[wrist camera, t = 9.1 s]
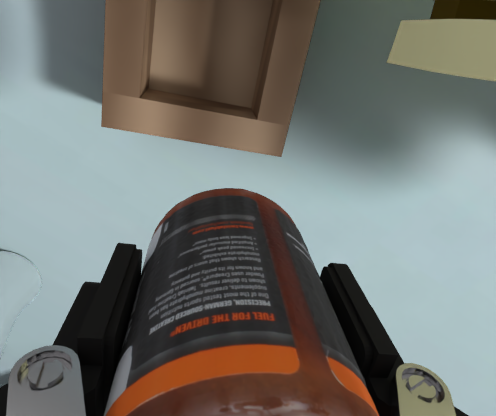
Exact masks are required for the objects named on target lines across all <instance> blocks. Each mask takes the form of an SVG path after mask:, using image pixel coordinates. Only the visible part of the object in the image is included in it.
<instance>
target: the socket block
mask: <svg viewBox="0 0 496 416" xmlns="http://www.w3.org/2000/svg"><path fill="white" fill-rule="evenodd" d="M320 1H321V0H106V3H105V33H104V64H103V94H102V125H101V127H107V128H113V129H119V130H125V131H131V132H137V133H143V134H149V135H155V136H160V137H166V138H172V139H178V140H184V141H190V142H196V143H202V144H208V145H214V146H220V147H225V148H231V149H237V150H243V151H249V152H255V153H261V154H267V155H273V156H279V157H281V156H282V152H283V148H284V144H285V140H286V136H287V132H288V128H289V124H290V120H291V116H292V112H293V108H294V104H295V100H296V96H297V92H298V88H299V84H300V80H301V76H302V72H303V68H304V64H305V60H306V57H307V53H308V49H309V45H310V41H311V37H312V33H313V29H314V25H315V21H316V17H317V13H318V9H319V5H320Z"/></svg>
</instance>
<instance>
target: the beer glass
mask: <svg viewBox="0 0 496 416" xmlns="http://www.w3.org/2000/svg"><path fill="white" fill-rule="evenodd" d="M41 287H42V278H41V275H40V273H39V271H38V269H37V268H36V267H35V266H34V265H33V264H32V263H31V262H30V261H29V260H27V259H26V258H24V257H22V256H20V255H18V254H16V253H12V252H8V251H0V359H1V356H2V353H3V351H4V348H5V346H6V343H7V340H8V338H9V335H10V332H11V330H12V328H13V325H14V323H15V321H16V320H17V318H18V316H19V315H20V313H21V312H22V311H23V310H24V309H25V308H26V307H27V306H28V305H29V304H30V303H31V302H32V301H33V300H34V299H35V298H36V297H37V296H38V294H39V293H40V290H41Z"/></svg>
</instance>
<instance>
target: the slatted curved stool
mask: <svg viewBox="0 0 496 416" xmlns="http://www.w3.org/2000/svg"><path fill="white" fill-rule="evenodd" d="M387 63H391V64H396V65H401V66H406V67H411V68H416V69H421V70H426V71H431V72H436V73H442V74H448V75H455V76H461V77H468V78H475V79H482V80H489V81H496V0H435V3H434V6H433V10H432V14H431V17H430V19H429V20H401V22H400V25H399V28H398V31H397V34H396V37H395V40H394V43H393V46H392V49H391V52H390V54H389V57H388V60H387Z"/></svg>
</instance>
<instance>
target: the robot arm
mask: <svg viewBox="0 0 496 416" xmlns="http://www.w3.org/2000/svg"><path fill="white" fill-rule="evenodd" d="M141 265H142V250H140V249H136V245H134V244H123V243H118V244H117V246H116V248H115V250H114V253H113V255H112V257H111V260H110V262H109V264H108V267H107V269H106V271H105V274H104V276H103V278H102V281H101V283H96V282H85V283H84V284H83V285H82V287H81V289H80V291H79V293H78V295H77V297H76V299H75V301H74V303H73V305H72V307H71V309H70V311H69V313H68V315H67V317H66V319H65V321H64V323H63V325H62V327H61V329H60V331H59V333H58V335H57V337H56V339H55V341H54V343H53V345H52V346H44V347H41V348H38V349H35V350H33V351H31V352H29V353H27V354H25V355H24V356H23V357H22V358H21V359H19V360H18V361H17V362H16V364H15V365H14V366H13V368H12V369H11V372H10V376H9V383H8V384H6V385H4V386H2V387H1V388H0V416H104V413H105V409H106V405H107V402H108V398H109V394H110V390H111V386H112V382H113V378H114V375H115V372H116V366H117V362H118V358H119V355H120V352H121V348H122V345H123V342H124V337H125V333H126V329H127V326H128V323H129V318H130V314H131V311H132V306H133V303H134V300H135V296H136V291H137V289H138V285H139V281H140V277H141ZM320 280H321V281H322V284H323V286H324V288H325V290H326V293H327V295H328V298H329V300H330V302H331V304H332V307H333V309H334V311H335V313H336V316H337V318H338V321H339V323H340V326H341V328H342V330H343V332H344V334H345V337H346V339H347V341H348V344H349V346H350V348H351V350H352V353H353V355H354V358H355V360H356V362H357V364H358V367H359V369H360V371H361V373H362V375H363V377H364V379H365V382H366V387H367V389H368V392H369V394H370V396H371V398H372V400H373V402H374V404H375V407H376V409H377V411H378V414H379V416H468V415H467V414H465V413H463V412H462V411H460V410H459V409H457V408H456V407H454V406H453V402H452V398H451V394H450V392H449V390H448V387H447V386H446V385H445V383H444V382H443V380H442V379H440V378H439V377H438V376H437V375H436V374H435V373H433V372H432V371H430V370H429V369H427V368H425V367H423V366H421V365H417V364H413V363H405V364H404V362H403V360H402V358H401V357H400V355H399V353H398V351H397V350H396V348H395V346H394V345H393V343H392V341H391V339H390V338H389V336H388V334H387V332H386V331H385V329H384V327H383V325H382V324H381V322H380V320H379V318H378V317H377V315H376V313H375V311H374V310H373V308H372V307H371V305H370V304H369V302H368V300H367V298H366V297H365V295H364V293H363V291H362V290H361V288H360V286H359V284H358V283H357V281H356V279H355V277H354V276H353V274H352V272H351V270H350V269H349V267H348V266H347V265H346V264H337V263H330V264H329V265H328V267H324V268H323V270H322V273H321V276H320Z"/></svg>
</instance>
